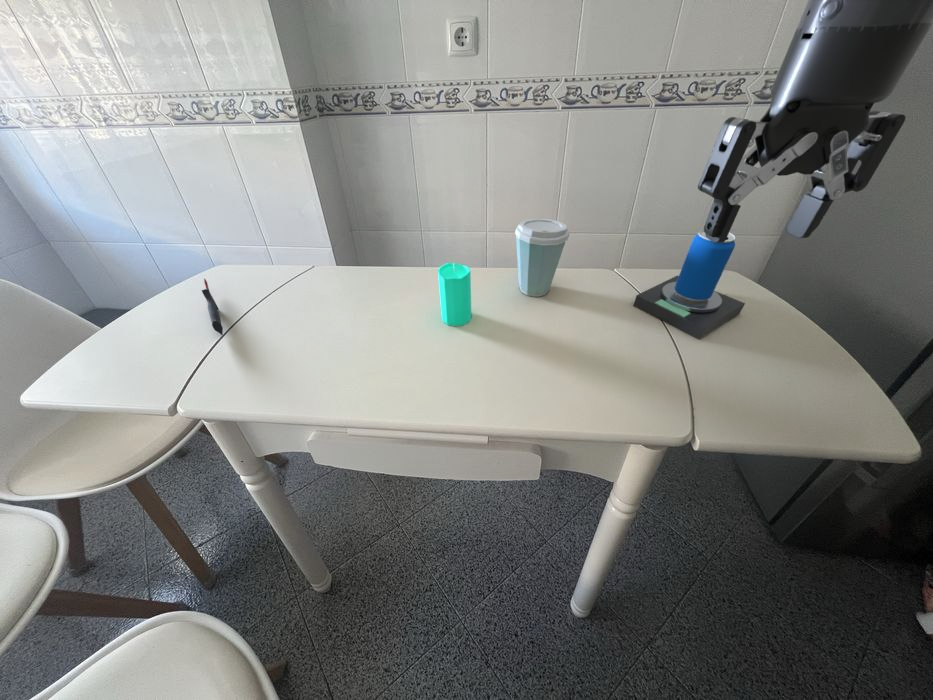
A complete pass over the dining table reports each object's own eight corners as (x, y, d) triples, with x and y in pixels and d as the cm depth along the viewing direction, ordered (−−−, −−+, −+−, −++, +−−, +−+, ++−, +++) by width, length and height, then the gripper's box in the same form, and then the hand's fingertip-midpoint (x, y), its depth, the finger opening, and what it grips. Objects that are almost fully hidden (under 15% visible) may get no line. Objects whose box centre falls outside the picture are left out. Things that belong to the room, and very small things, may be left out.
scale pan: (700, 283, 75) (702, 280, 75) (732, 311, 67) (734, 307, 67) (652, 286, 75) (653, 282, 75) (677, 314, 67) (679, 310, 67)
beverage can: (706, 307, 67) (735, 245, 59) (669, 296, 70) (692, 236, 63) (713, 292, 71) (741, 232, 63) (677, 283, 74) (700, 225, 66)
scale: (699, 339, 66) (705, 327, 64) (633, 305, 75) (636, 294, 73) (739, 314, 71) (745, 302, 70) (673, 285, 80) (677, 274, 79)
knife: (227, 336, 70) (215, 314, 67) (219, 339, 69) (206, 317, 66) (213, 286, 85) (202, 267, 82) (206, 288, 85) (195, 269, 81)
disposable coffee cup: (511, 277, 85) (515, 213, 75) (557, 278, 84) (568, 213, 74) (511, 301, 77) (515, 232, 67) (562, 303, 76) (574, 233, 66)
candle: (437, 313, 74) (432, 259, 66) (463, 306, 76) (461, 252, 68) (448, 329, 70) (444, 273, 62) (476, 321, 72) (476, 265, 64)
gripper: (904, 21, 29) (794, 221, 40) (733, 26, 29) (667, 227, 39) (1020, 13, 24) (855, 249, 34) (808, 20, 23) (707, 258, 33)
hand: (754, 237), depth 37 cm, fingers open, 8 cm apart
